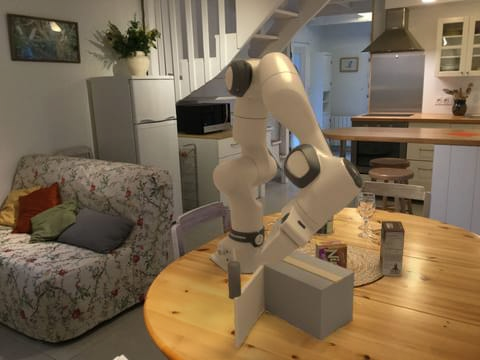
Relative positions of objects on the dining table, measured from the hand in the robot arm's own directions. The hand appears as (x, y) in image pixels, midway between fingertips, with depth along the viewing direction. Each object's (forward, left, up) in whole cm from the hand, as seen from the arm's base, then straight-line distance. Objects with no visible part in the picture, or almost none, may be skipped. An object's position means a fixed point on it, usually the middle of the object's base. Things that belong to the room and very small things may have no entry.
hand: (257, 256), depth 98 cm
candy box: (-5, +36, -25) cm, 44 cm away
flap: (-8, +3, -23) cm, 25 cm away
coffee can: (-38, +74, -25) cm, 87 cm away
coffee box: (+1, +61, -25) cm, 66 cm away
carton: (-1, +20, -24) cm, 32 cm away
